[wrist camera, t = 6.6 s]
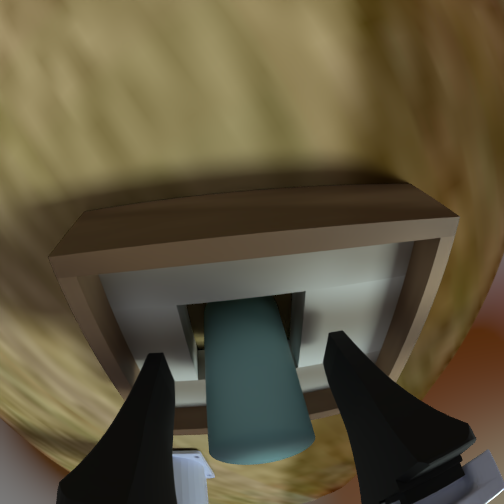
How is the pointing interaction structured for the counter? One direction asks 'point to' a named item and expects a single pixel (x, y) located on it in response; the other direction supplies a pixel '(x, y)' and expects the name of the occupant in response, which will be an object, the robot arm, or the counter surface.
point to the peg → (252, 384)
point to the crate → (256, 278)
